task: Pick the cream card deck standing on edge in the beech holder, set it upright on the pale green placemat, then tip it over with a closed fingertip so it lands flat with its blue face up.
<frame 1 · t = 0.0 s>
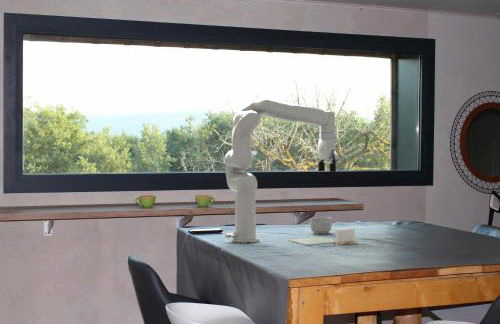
hand: (327, 171, 330), 31 cm above the table, tool pointing down, fingers open, 9 cm apart
mat: (313, 241, 309), on the table
teacup: (322, 233, 337), on the table
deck: (345, 243, 302), resting in holder
holder: (345, 243, 302), on the table
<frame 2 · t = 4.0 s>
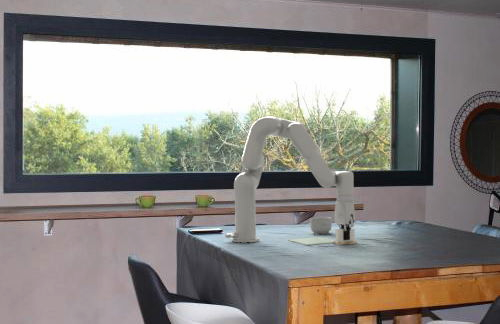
hand: (345, 239, 302), 2 cm above the table, tool pointing down, fingers closed on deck, 1 cm apart
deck: (345, 243, 302), resting in holder, touching gripper
everything else where it was.
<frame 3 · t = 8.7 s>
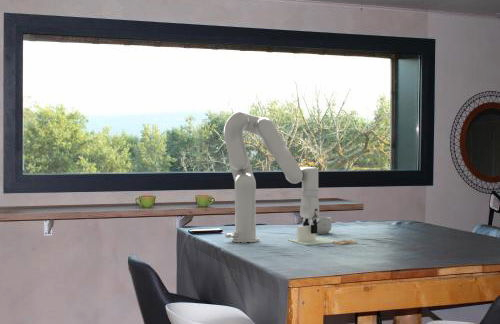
hand: (310, 232, 311), 4 cm above the table, tool pointing down, fingers open, 6 cm apart
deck: (306, 240, 310), resting on mat
everything else where it was.
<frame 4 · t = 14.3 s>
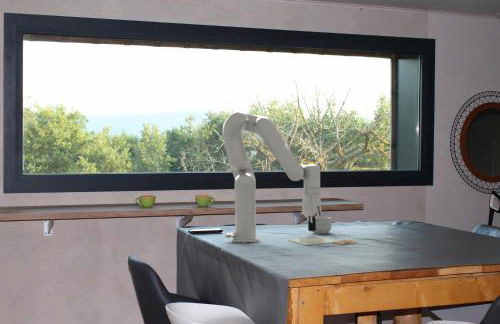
hand: (312, 230, 310), 5 cm above the table, tool pointing down, fingers closed
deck: (307, 238, 309), point 1 cm above the table, tilted 90°, touching mat
everything else where it was.
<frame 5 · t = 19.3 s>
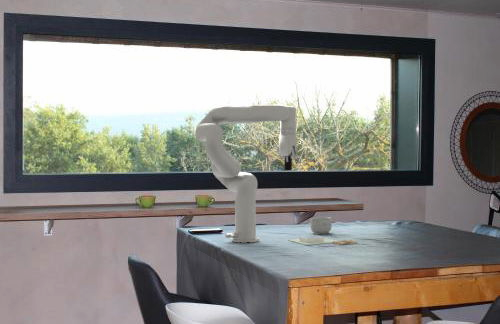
hand: (288, 170, 323), 32 cm above the table, tool pointing down, fingers closed
nothing on the table moved.
at the end: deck tilted 90°; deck inside the target area on the mat (2.8 cm from its centre), point 1.4 cm above the mat's base; the gripper is holding nothing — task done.
